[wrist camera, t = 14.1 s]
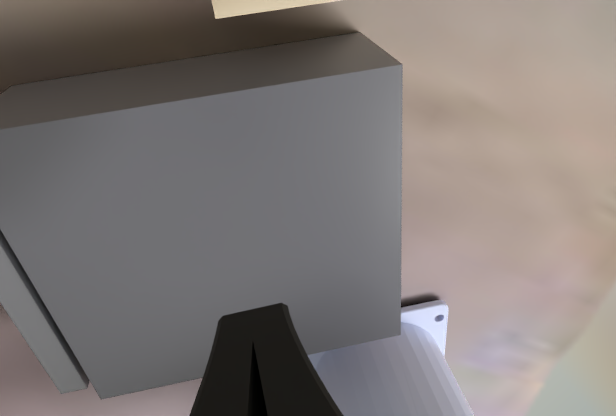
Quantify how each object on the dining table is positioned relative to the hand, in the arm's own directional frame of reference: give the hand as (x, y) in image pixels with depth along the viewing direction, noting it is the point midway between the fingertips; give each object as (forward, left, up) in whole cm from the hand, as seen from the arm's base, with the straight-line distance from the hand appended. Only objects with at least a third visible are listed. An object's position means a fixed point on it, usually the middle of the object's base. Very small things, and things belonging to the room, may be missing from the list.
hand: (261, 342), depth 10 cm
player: (-2, +1, -10) cm, 10 cm away
